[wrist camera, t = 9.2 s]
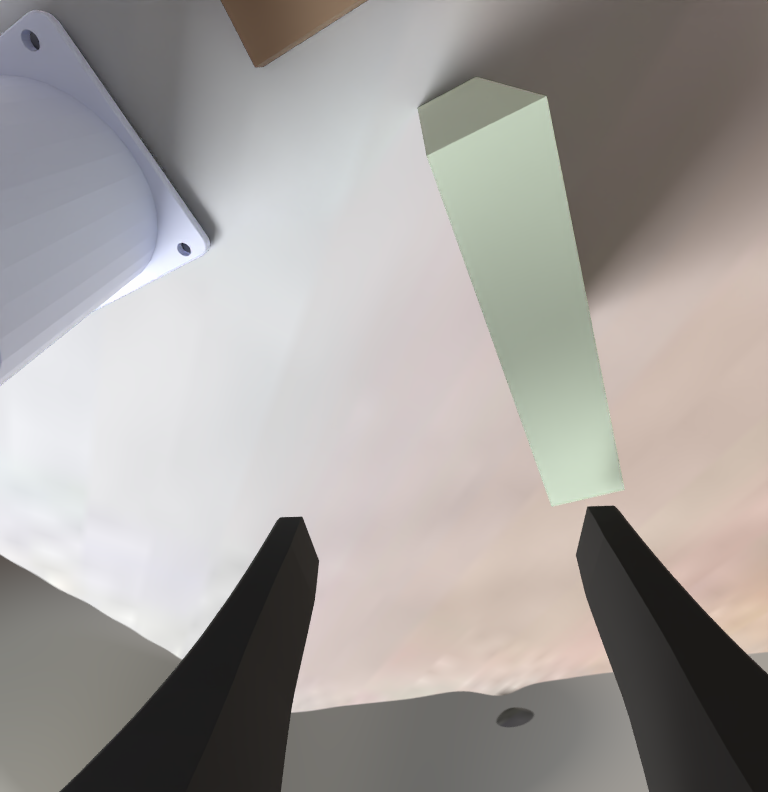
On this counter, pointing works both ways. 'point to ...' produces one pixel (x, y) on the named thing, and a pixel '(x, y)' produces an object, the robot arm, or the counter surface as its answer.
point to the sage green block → (526, 274)
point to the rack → (281, 23)
